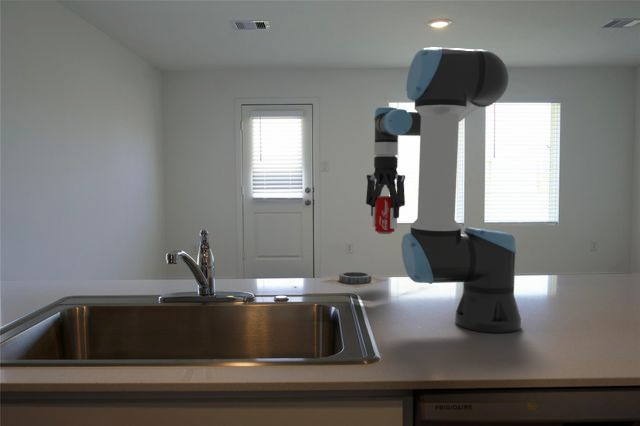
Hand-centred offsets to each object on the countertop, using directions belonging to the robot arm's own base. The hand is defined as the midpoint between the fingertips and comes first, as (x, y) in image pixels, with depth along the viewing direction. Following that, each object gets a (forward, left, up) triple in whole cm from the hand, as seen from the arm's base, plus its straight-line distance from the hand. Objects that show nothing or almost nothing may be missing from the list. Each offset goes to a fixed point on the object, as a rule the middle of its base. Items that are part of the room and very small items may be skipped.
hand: (384, 227), depth 170 cm
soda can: (0, 0, -2) cm, 2 cm away
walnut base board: (-5, +8, -19) cm, 22 cm away
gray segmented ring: (-5, +8, -18) cm, 20 cm away
